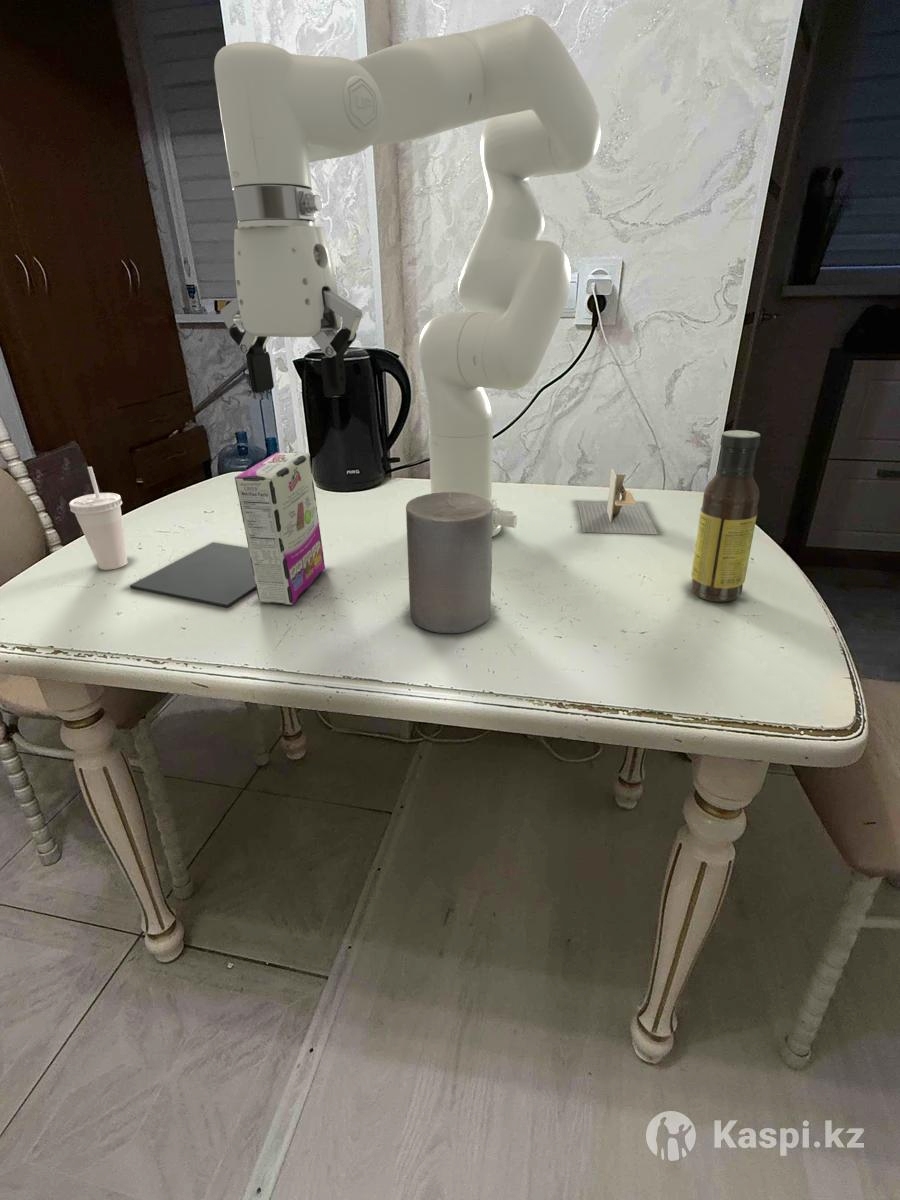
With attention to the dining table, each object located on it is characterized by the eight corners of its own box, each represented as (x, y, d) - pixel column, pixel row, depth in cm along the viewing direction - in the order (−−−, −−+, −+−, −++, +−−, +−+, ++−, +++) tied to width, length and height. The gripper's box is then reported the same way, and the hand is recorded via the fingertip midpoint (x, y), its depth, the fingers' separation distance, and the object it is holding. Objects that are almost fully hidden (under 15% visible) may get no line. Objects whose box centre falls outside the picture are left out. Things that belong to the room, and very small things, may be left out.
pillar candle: (413, 595, 79) (408, 480, 72) (490, 596, 79) (492, 480, 72) (406, 634, 70) (399, 508, 64) (492, 635, 70) (495, 507, 63)
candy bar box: (292, 567, 88) (275, 450, 80) (326, 569, 87) (312, 452, 79) (255, 603, 78) (232, 475, 70) (292, 607, 77) (273, 476, 69)
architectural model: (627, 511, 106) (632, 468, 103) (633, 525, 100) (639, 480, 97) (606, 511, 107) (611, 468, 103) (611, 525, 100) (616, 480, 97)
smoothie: (147, 559, 91) (123, 464, 84) (109, 576, 86) (80, 477, 79) (116, 552, 93) (90, 460, 87) (78, 569, 88) (47, 471, 82)
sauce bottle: (746, 589, 79) (782, 431, 70) (733, 608, 75) (770, 442, 66) (695, 577, 83) (722, 425, 74) (680, 595, 78) (707, 435, 69)
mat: (301, 558, 90) (301, 556, 90) (227, 607, 77) (227, 604, 77) (213, 544, 96) (212, 542, 95) (130, 587, 82) (129, 585, 82)
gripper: (371, 209, 61) (383, 391, 69) (232, 219, 67) (258, 384, 75) (327, 203, 55) (346, 403, 63) (180, 214, 61) (214, 394, 69)
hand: (298, 392), depth 69 cm, fingers open, 9 cm apart
